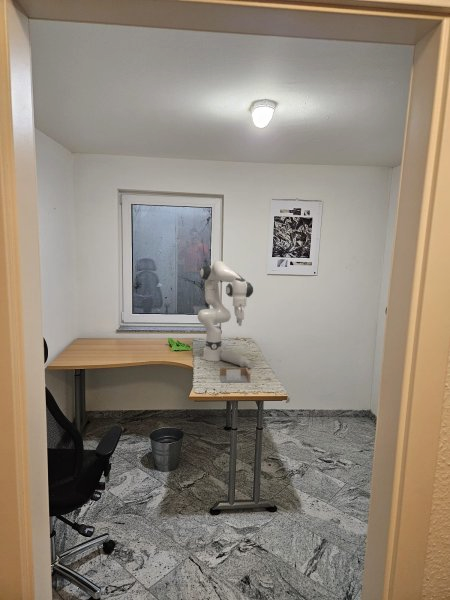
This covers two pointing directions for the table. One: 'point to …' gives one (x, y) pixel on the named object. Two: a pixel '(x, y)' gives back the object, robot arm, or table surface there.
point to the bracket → (233, 374)
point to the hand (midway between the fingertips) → (238, 324)
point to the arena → (244, 375)
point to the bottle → (235, 358)
